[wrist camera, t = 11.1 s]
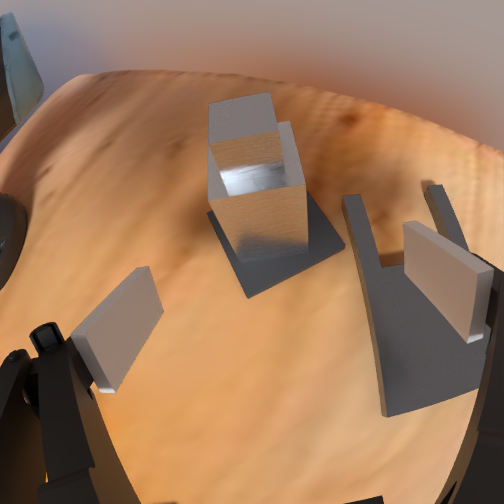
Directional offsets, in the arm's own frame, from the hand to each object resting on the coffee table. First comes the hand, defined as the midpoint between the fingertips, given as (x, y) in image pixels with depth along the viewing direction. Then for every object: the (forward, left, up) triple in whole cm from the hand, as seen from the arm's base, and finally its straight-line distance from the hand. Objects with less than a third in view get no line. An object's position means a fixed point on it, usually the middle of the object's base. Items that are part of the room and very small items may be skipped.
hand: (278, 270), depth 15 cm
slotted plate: (+4, +9, -7) cm, 12 cm away
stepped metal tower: (-6, +2, -6) cm, 9 cm away
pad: (-6, +2, -7) cm, 9 cm away
